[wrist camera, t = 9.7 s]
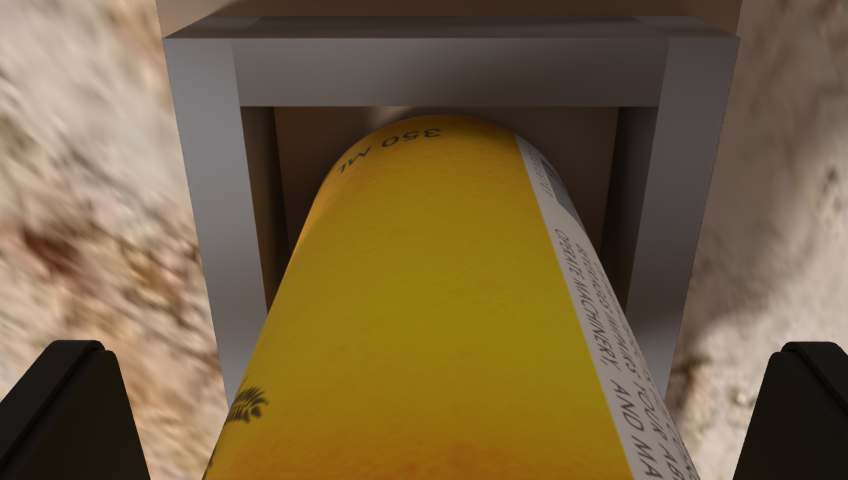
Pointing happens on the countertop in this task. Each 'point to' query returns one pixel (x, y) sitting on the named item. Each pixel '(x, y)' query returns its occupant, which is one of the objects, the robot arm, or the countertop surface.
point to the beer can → (446, 329)
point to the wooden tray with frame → (450, 95)
